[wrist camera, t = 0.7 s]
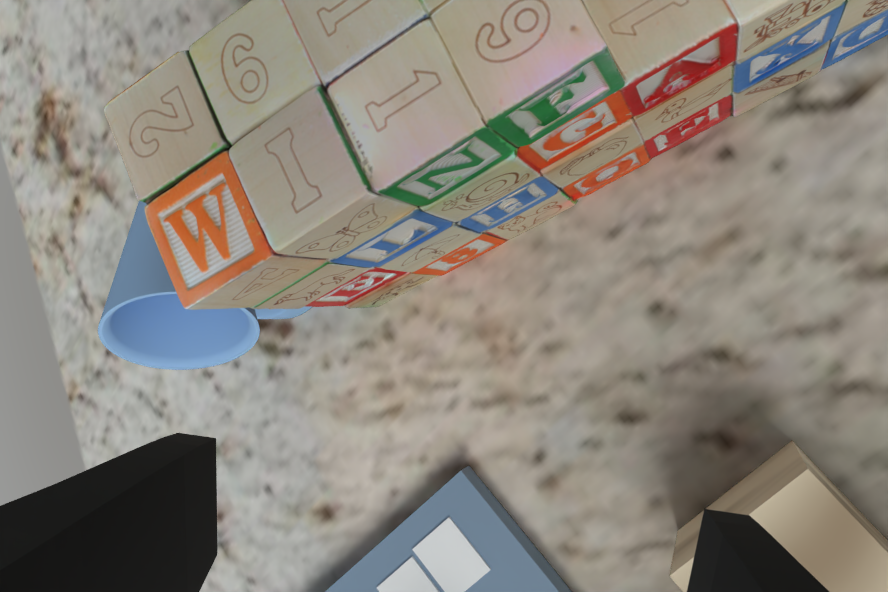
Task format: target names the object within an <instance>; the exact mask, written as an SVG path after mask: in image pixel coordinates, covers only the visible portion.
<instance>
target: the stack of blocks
mask: <svg viewBox="0 0 888 592" xmlns="http://www.w3.org/2000/svg"><path fill="white" fill-rule="evenodd" d="M886 35H888V0H251V1H250V2H248V3H247V4H246V5H244V6H243V7H241V8H240V9H239V10H237V11H236V12H235V13H233V14H232V15H230V16H229V17H228V18H226V19H225V20H224V21H222V22H221V23H220V24H218V25H217V26H216V27H214V28H213V29H212V30H210V31H209V32H208V33H206V34H205V35H204V36H203V37H201V38H200V39H199V40H197V41H196V42H194V43H193V44H192V45H191V46H190V48H189V51H181V52H177V53H176V54H174V55H173V56H172V57H170V58H169V59H167V60H166V61H165V62H163V63H162V64H160V65H159V66H158V67H156V68H155V69H154V70H152V71H151V72H149V73H148V74H147V75H145V76H144V77H143V78H141V79H140V80H138V81H137V82H136V83H134V84H133V85H131V86H130V87H129V88H127V89H126V90H125V91H123V92H122V93H120V94H119V95H118V96H116V97H115V98H113V99H112V100H111V101H109V102H108V104H107V105H106V106H105V107H104V113H105V116H106V118H107V121H108V123H109V126H110V128H111V131H112V133H113V136H114V138H115V141H116V143H117V146H118V148H119V151H120V154H121V156H122V159H123V161H124V164H125V166H126V169H127V172H128V175H129V177H130V180H131V183H132V186H133V189H134V191H135V194H136V197H137V199H138V200H139V201H142V202H144V203H146V204H147V205H146V206H145V215H146V219H147V222H148V225H149V227H150V230H151V232H152V234H153V237H154V239H155V242H156V244H157V247H158V249H159V252H160V254H161V257H162V259H163V261H164V264H165V266H166V269H167V271H168V273H169V276H170V278H171V281H172V283H173V285H174V288H175V290H176V293H177V295H178V297H179V300H180V301H181V303H182V305H183V307H184V308H185V309H189V310H199V309H229V308H248V307H249V308H252V309H300V308H302V307H304V306H312V307H323V306H345V307H347V308H365V307H378V306H381V305H383V304H385V303H387V302H389V301H390V300H392V299H394V298H396V297H398V296H400V295H402V294H404V293H406V292H407V291H409V290H411V289H413V288H415V287H417V286H419V285H421V284H423V283H425V282H426V281H428V280H430V279H432V278H434V277H436V276H438V275H444V274H446V273H448V272H450V271H452V270H453V269H455V268H457V267H459V266H461V265H463V264H465V263H467V262H469V261H470V260H472V259H474V258H476V257H478V256H480V255H482V254H484V253H485V252H487V251H489V250H491V249H493V248H495V247H497V246H499V245H501V244H503V243H504V242H506V241H507V240H509V239H512V238H514V237H516V236H518V235H520V234H522V233H524V232H526V231H528V230H530V229H532V228H534V227H535V226H537V225H539V224H541V223H543V222H545V221H547V220H548V219H550V218H552V217H554V216H556V215H558V214H559V213H561V212H563V211H565V210H567V209H569V208H571V207H573V206H574V205H575V204H576V203H577V201H578V200H579V199H580V198H582V197H584V196H586V195H589V194H591V193H593V192H594V191H596V190H598V189H600V188H602V187H603V186H605V185H606V184H608V183H611V182H613V181H615V180H616V179H618V178H620V177H622V176H624V175H626V174H627V173H629V172H631V171H633V170H635V169H637V168H639V167H641V166H643V165H644V164H646V163H648V162H649V161H650V160H651V159H652V158H653V157H655V156H657V155H659V154H661V153H663V152H665V151H667V150H669V149H671V148H673V147H675V146H677V145H679V144H680V143H682V142H684V141H686V140H688V139H690V138H691V137H693V136H695V135H697V134H698V133H700V132H702V131H704V130H706V129H708V128H710V127H711V126H713V125H715V124H717V123H719V122H721V121H723V120H724V119H726V118H727V117H729V116H733V117H736V116H739V115H741V114H743V113H745V112H746V111H748V110H750V109H752V108H754V107H756V106H758V105H760V104H762V103H764V102H765V101H767V100H769V99H771V98H773V97H775V96H777V95H779V94H780V93H782V92H784V91H786V90H788V89H790V88H792V87H794V86H795V85H797V84H799V83H801V82H803V81H805V80H807V79H808V78H810V77H812V76H814V75H815V74H817V73H818V72H820V71H821V70H822V69H824V68H826V67H828V66H830V65H832V64H834V63H836V62H838V61H840V60H842V59H844V58H845V57H847V56H849V55H851V54H853V53H855V52H857V51H859V50H860V49H862V48H864V47H866V46H868V45H869V44H871V43H873V42H875V41H877V40H879V39H881V38H882V37H884V36H886Z"/></svg>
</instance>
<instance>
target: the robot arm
mask: <svg viewBox="0 0 888 592" xmlns="http://www.w3.org/2000/svg"><path fill="white" fill-rule="evenodd" d="M216 556H217V489H216V438H210V437H203V436H196V435H189V434H182V433H176V434H173V435H170V436H167V437H164V438H161V439H158V440H156V441H153V442H151V443H148V444H146V445H144V446H141V447H139V448H137V449H134V450H132V451H130V452H127V453H125V454H123V455H120V456H118V457H116V458H114V459H111V460H109V461H107V462H105V463H102V464H100V465H98V466H95V467H93V468H91V469H89V470H86V471H84V472H82V473H79V474H77V475H75V476H73V477H70V478H68V479H66V480H63V481H61V482H59V483H57V484H54V485H52V486H49V487H47V488H44V489H42V490H39V491H37V492H34V493H32V494H29V495H27V496H24V497H22V498H19V499H17V500H14V501H11V502H9V503H6V504H5V505H2V506H0V592H199V591H200V589H201V587H202V585H203V583H204V581H205V579H206V576H207V574H208V572H209V570H210V568H211V566H212V564H213V562H214V560H215V558H216ZM687 592H829V591H828V590H827V589H826V588H825V587H824V586H823V585H822V584H821V583H820V582H819V581H818V580H817V579H816V578H815V577H814V576H813V575H812V574H811V573H810V572H809V571H808V570H806V569H805V568H804V567H803V566H802V565H801V564H800V563H799V562H798V561H797V560H796V559H795V558H794V557H793V556H792V555H791V554H790V553H789V552H788V551H787V550H786V549H785V548H784V547H783V546H782V545H781V544H780V543H779V542H778V541H777V540H776V539H775V538H774V537H773V536H772V535H771V534H769V533H768V532H767V531H766V530H765V529H764V528H763V527H762V526H761V525H760V524H759V523H758V522H756V521H755V520H754V519H753V518H752V517H751V516H749V515H744V514H737V513H730V512H723V511H716V510H709V509H704V513H703V517H702V522H701V527H700V532H699V536H698V541H697V546H696V551H695V555H694V560H693V565H692V570H691V574H690V579H689V584H688V589H687Z"/></svg>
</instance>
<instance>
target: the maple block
mask: <svg viewBox="0 0 888 592" xmlns="http://www.w3.org/2000/svg"><path fill="white" fill-rule="evenodd" d="M706 509H709V510H716V511H723V512H730V513H737V514H744V515H749V516H751V517H752V518H753V519H754V520H755V521H756V522H758V523H759V524H760V525H761V526H762V527H763V528H764V529H765V530H766V531H767V532H768V533H769V534H771V535H772V536H773V537H774V538H775V539H776V540H777V541H778V542H779V543H780V544H781V545H782V546H783V547H784V548H785V549H786V550H787V551H788V552H789V553H790V554H791V555H792V556H793V557H794V558H795V559H796V560H797V561H798V562H799V563H800V564H801V565H802V566H803V567H804V568H805V569H806V570H808V571H809V572H810V573H811V574H812V575H813V576H814V577H815V578H816V579H817V580H818V581H819V582H820V583H821V584H822V585H823V586H824V587H825V588H826V589H827V590H828V591H829V592H888V541H887V539H886V538H885V537H884V536H883V535H882V534H881V533H880V532H879V531H878V530H877V529H876V528H875V527H874V526H873V525H872V524H871V523H870V522H869V521H868V520H867V519H866V517H865V516H864V515H863V514H862V513H861V512H860V511H859V510H858V509H857V508H856V507H855V506H854V505H853V504H852V503H851V502H850V501H849V500H848V499H847V498H846V496H845V495H844V494H843V493H842V492H841V491H840V490H839V489H838V488H837V487H836V486H835V485H834V484H833V483H832V482H831V481H830V480H829V479H828V478H827V477H826V476H825V474H824V473H823V472H822V471H821V470H820V469H819V468H818V467H817V466H816V465H815V464H814V463H813V462H812V461H811V460H810V459H809V458H808V457H807V456H806V455H805V454H804V452H803V451H802V450H801V449H800V448H799V447H798V446H797V445H796V444H795V443H794V442H793V441H791V442H789V443H788V444H787V445H786V446H784V447H783V448H782V449H781V450H779V451H778V452H777V453H775V454H774V455H773V456H772V457H770V458H769V459H768V460H767V461H765V462H764V463H763V464H762V465H760V466H759V467H758V468H756V469H755V470H754V471H753V472H751V473H750V474H749V475H748V476H746V477H745V478H744V479H743V480H741V481H740V482H739V483H737V484H736V485H735V486H734V487H732V488H731V489H730V490H729V491H727V492H726V493H725V494H724V495H722V496H721V497H720V498H718V499H717V500H716V501H715V502H713V503H712V504H711V505H710V506H708V507H707V508H706ZM703 513H704V510H703V511H702V512H701V513H699V514H698V515H697V516H696V517H694V518H693V519H692V520H691V521H689V522H688V523H687V524H686V525H684V526H683V527H682V528H680V529H679V530H678V533H677V538H676V543H675V549H674V554H673V559H672V564H671V570H670V575H669V576H670V577H671V579H672V580H673V581H674V582H675V583H676V584H677V586H678V587H679V588H680V589H681V590H682V591H683V592H687V589H688V584H689V579H690V574H691V570H692V565H693V560H694V555H695V551H696V546H697V541H698V536H699V532H700V527H701V522H702V517H703Z"/></svg>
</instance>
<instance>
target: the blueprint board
mask: <svg viewBox="0 0 888 592" xmlns="http://www.w3.org/2000/svg"><path fill="white" fill-rule="evenodd" d="M325 592H572V591H571V590H570V589H569V588H568V586H567V585H566V584H565V583H564V582H563V580H562V579H561V578H560V577H559V575H558V574H557V573H556V572H555V570H554V569H553V568H552V567H551V566H550V564H549V563H548V562H547V561H546V559H545V558H544V557H543V556H542V554H541V553H540V552H539V551H538V550H537V548H536V547H535V546H534V545H533V543H532V542H531V541H530V540H529V539H528V537H527V536H526V535H525V534H524V532H523V531H522V530H521V529H520V527H519V526H518V525H517V524H516V523H515V521H514V520H513V519H512V518H511V516H510V515H509V514H508V513H507V512H506V510H505V509H504V508H503V507H502V505H501V504H500V503H499V502H498V500H497V499H496V498H495V497H494V496H493V494H492V493H491V492H490V491H489V489H488V488H487V487H486V486H485V485H484V483H483V482H482V481H481V480H480V478H479V477H478V476H477V475H476V473H475V472H474V471H473V470H472V469H471V467H470V466H467V467H466V468H464V469H462V470H461V471H460V472H459V473H457V474H456V475H455V476H454V477H453V478H452V479H451V480H450V481H448V482H447V483H446V484H445V485H444V486H443V487H442V488H441V489H439V490H438V491H437V492H436V493H435V494H434V495H433V496H432V497H430V498H429V499H428V500H427V501H426V502H425V503H424V504H423V505H422V506H420V507H419V508H418V509H417V510H416V511H415V512H414V513H413V514H411V515H410V516H409V517H408V518H407V519H406V520H405V521H404V522H402V523H401V524H400V525H399V526H398V527H397V528H396V529H395V530H394V531H392V532H391V533H390V534H389V535H388V536H387V537H386V538H385V539H383V540H382V541H381V542H380V543H379V544H378V545H377V546H376V547H374V548H373V549H372V550H371V551H370V552H369V553H368V554H367V555H366V556H364V557H363V558H362V559H361V560H360V561H359V562H358V563H357V564H355V565H354V566H353V567H352V568H351V569H350V570H349V571H348V572H346V573H345V574H344V575H343V576H342V577H341V578H340V579H339V580H337V581H336V582H335V583H334V584H333V585H332V586H331V587H330V588H329V589H327V590H326V591H325Z"/></svg>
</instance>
